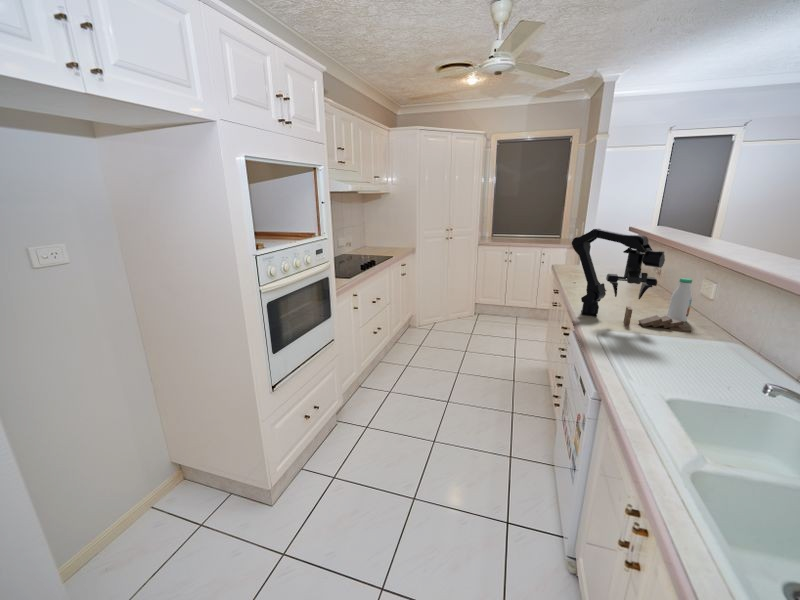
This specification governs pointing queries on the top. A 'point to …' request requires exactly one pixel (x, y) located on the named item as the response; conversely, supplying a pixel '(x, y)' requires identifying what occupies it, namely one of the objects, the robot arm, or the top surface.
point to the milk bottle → (681, 301)
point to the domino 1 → (627, 315)
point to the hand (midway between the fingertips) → (627, 297)
